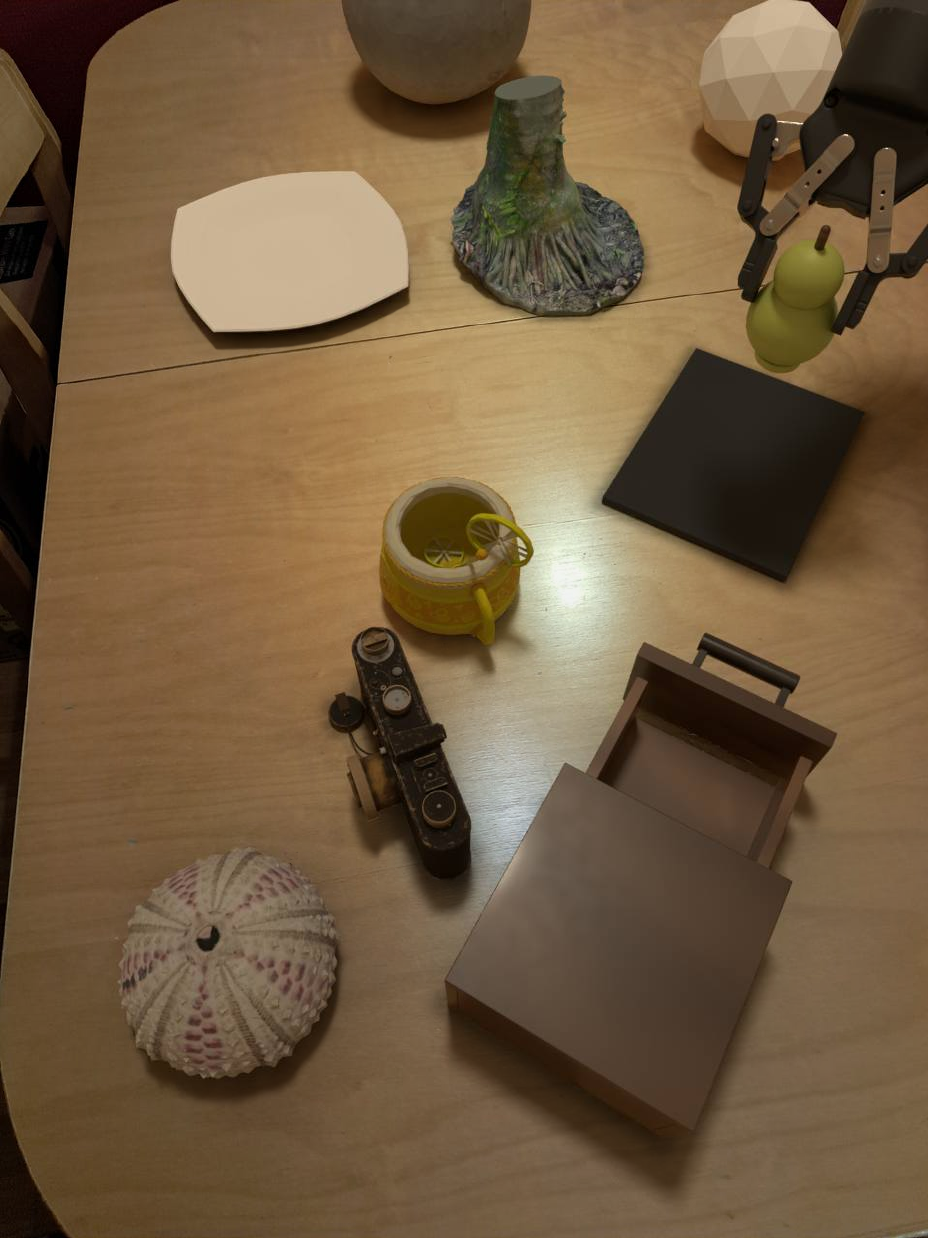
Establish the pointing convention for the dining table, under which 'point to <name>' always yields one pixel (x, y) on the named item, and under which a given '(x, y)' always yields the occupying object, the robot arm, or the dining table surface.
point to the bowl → (438, 44)
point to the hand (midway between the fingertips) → (791, 315)
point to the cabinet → (619, 951)
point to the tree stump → (542, 215)
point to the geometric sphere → (766, 70)
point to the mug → (451, 557)
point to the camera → (404, 755)
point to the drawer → (727, 719)
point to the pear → (797, 305)
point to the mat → (736, 462)
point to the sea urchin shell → (228, 964)
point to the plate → (288, 252)
